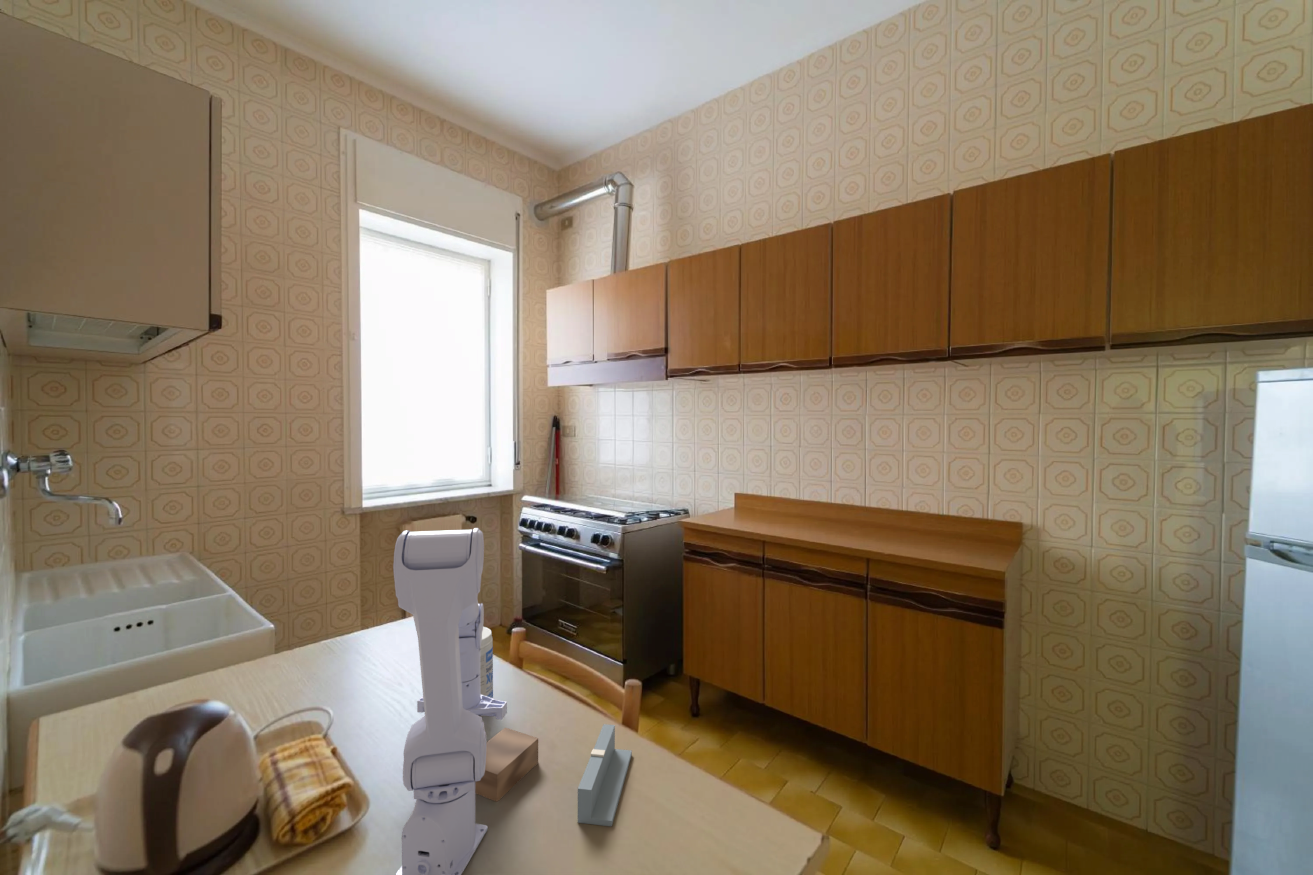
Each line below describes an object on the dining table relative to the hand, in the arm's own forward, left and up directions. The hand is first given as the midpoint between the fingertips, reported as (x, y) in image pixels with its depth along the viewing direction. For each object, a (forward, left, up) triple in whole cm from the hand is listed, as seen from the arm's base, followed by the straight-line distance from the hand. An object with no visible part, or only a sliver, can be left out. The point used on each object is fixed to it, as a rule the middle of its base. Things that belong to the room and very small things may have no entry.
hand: (462, 756), depth 86 cm
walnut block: (0, -7, -3) cm, 7 cm away
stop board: (0, -24, -2) cm, 24 cm away
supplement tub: (+18, +8, -3) cm, 20 cm away
